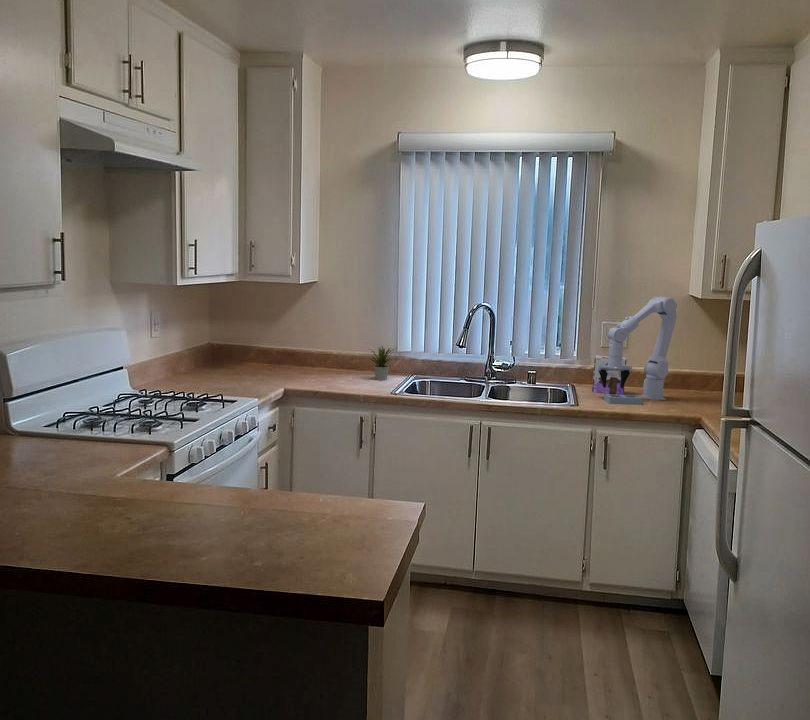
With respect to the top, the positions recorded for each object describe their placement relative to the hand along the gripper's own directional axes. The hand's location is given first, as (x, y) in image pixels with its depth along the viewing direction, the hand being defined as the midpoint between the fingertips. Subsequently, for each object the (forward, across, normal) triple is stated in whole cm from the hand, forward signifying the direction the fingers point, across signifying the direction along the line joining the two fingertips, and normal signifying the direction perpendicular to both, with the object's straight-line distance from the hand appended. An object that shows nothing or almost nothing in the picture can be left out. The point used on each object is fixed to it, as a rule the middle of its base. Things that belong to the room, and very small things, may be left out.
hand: (613, 387), depth 343 cm
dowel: (+5, 0, 0) cm, 5 cm away
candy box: (+5, +3, +15) cm, 16 cm away
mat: (+5, 0, 0) cm, 5 cm away
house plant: (+6, -96, +37) cm, 103 cm away
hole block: (+5, +2, -8) cm, 10 cm away
